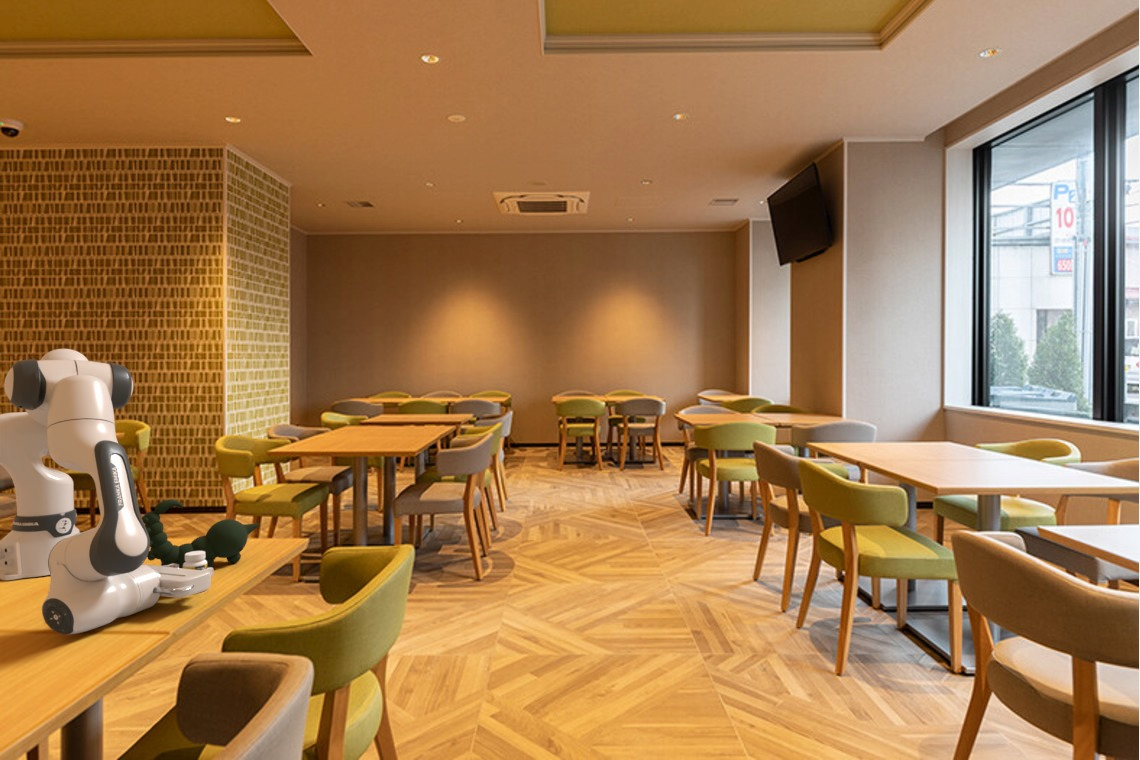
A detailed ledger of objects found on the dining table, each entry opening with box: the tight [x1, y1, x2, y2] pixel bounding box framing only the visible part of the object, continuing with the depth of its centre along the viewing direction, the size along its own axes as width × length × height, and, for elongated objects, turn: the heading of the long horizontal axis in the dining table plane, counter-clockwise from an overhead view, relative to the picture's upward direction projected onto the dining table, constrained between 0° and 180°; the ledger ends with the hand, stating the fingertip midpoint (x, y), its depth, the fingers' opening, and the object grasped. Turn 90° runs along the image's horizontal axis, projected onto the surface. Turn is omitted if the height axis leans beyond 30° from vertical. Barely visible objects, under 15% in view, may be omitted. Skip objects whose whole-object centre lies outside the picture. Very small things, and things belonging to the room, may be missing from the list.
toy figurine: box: [141, 499, 260, 568], centre depth 165 cm, size 9×19×25 cm
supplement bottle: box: [183, 551, 207, 594], centre depth 147 cm, size 5×5×8 cm
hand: (193, 568), depth 147 cm, fingers open, 8 cm apart
